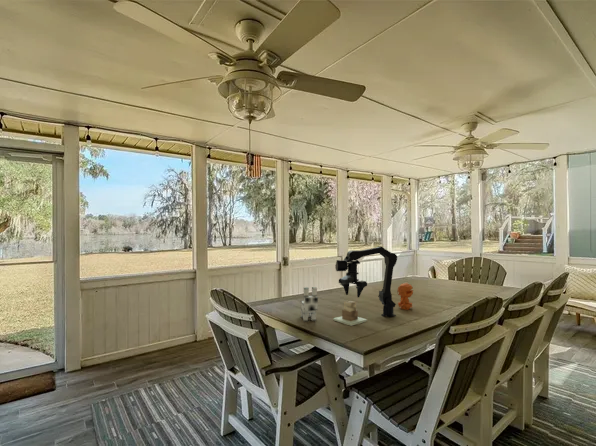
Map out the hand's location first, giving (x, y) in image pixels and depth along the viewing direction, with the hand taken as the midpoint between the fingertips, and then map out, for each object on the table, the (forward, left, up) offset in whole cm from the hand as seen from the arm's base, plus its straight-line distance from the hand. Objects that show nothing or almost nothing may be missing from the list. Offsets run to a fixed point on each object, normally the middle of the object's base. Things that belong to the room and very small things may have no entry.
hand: (352, 296), depth 194 cm
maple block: (+7, +4, -7) cm, 11 cm away
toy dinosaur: (-44, +9, -13) cm, 47 cm away
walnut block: (+7, +4, -12) cm, 14 cm away
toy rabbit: (+24, -14, -13) cm, 31 cm away
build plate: (+7, +4, -13) cm, 15 cm away
